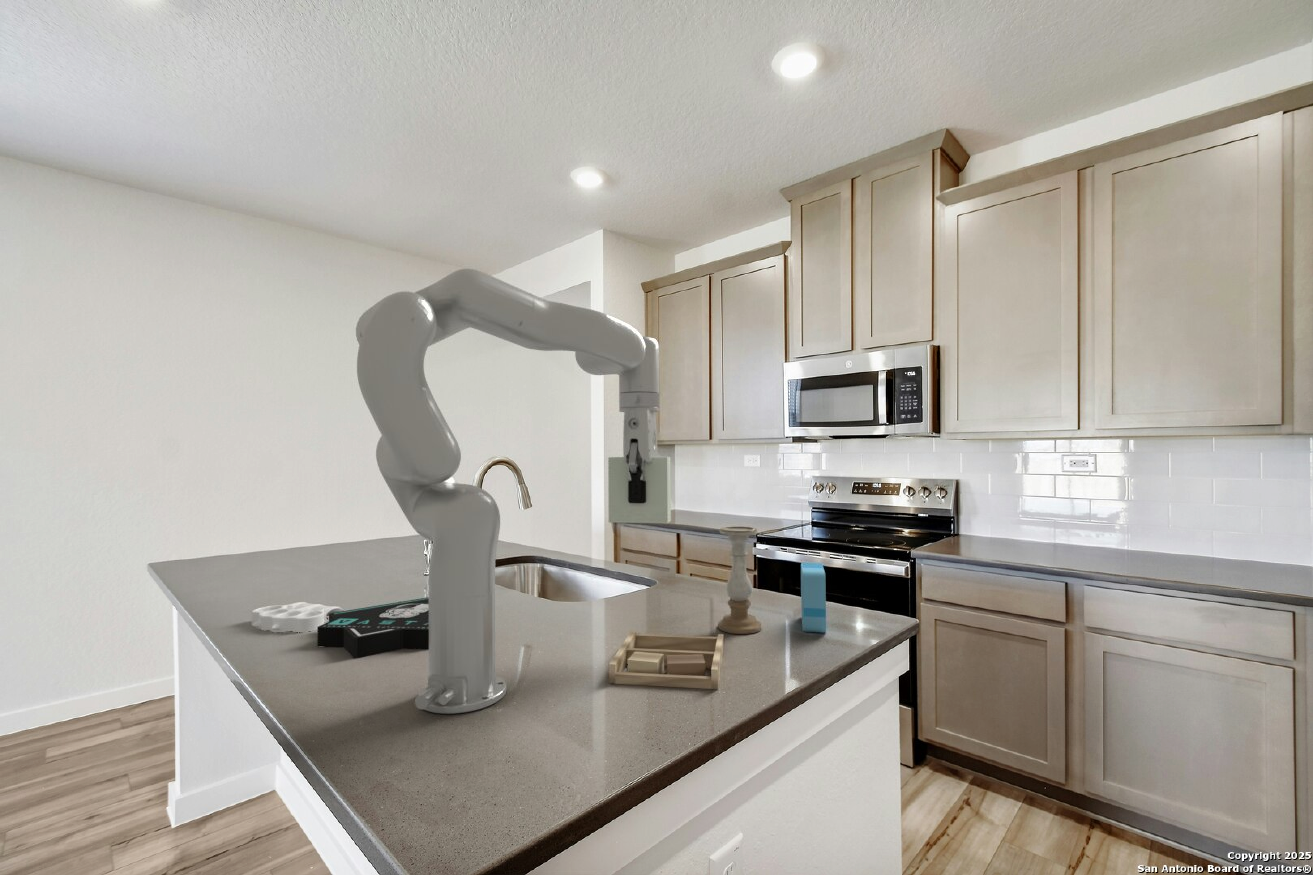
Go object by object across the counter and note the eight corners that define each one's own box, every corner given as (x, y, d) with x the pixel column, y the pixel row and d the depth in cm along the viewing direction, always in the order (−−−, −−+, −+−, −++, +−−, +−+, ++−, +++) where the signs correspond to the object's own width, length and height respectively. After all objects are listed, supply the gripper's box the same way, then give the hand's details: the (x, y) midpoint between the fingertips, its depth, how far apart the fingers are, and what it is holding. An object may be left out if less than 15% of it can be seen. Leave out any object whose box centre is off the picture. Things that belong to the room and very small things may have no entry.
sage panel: (667, 523, 109) (667, 457, 110) (608, 522, 111) (608, 457, 111) (670, 520, 113) (670, 456, 114) (613, 520, 115) (613, 457, 115)
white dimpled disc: (354, 620, 133) (290, 640, 119) (298, 612, 140) (232, 630, 126) (354, 605, 133) (290, 623, 119) (298, 598, 140) (232, 614, 126)
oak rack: (717, 689, 92) (717, 669, 92) (609, 683, 95) (609, 664, 95) (723, 651, 109) (723, 634, 109) (631, 646, 112) (631, 630, 112)
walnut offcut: (705, 681, 96) (705, 662, 96) (667, 682, 95) (667, 663, 95) (702, 672, 100) (702, 654, 100) (666, 673, 99) (666, 654, 99)
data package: (826, 634, 118) (825, 573, 119) (802, 633, 119) (801, 572, 119) (823, 617, 130) (822, 562, 130) (801, 616, 131) (800, 561, 131)
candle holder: (720, 635, 119) (719, 531, 119) (715, 622, 127) (714, 525, 128) (765, 634, 119) (764, 531, 119) (756, 621, 128) (755, 525, 128)
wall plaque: (436, 662, 106) (497, 615, 136) (436, 639, 106) (497, 597, 136) (276, 658, 109) (371, 613, 138) (276, 636, 109) (371, 595, 139)
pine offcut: (657, 681, 96) (657, 662, 96) (627, 678, 97) (627, 659, 97) (663, 672, 100) (663, 653, 100) (635, 669, 101) (634, 651, 101)
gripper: (651, 399, 104) (651, 506, 103) (666, 406, 120) (666, 498, 120) (608, 400, 105) (609, 505, 105) (629, 407, 122) (629, 498, 121)
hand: (639, 500), depth 112 cm, fingers closed on sage panel, 4 cm apart
